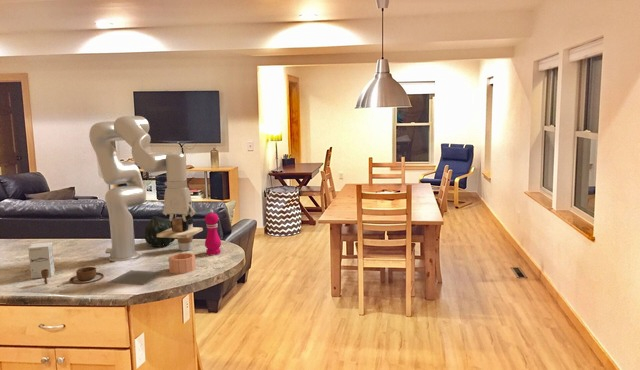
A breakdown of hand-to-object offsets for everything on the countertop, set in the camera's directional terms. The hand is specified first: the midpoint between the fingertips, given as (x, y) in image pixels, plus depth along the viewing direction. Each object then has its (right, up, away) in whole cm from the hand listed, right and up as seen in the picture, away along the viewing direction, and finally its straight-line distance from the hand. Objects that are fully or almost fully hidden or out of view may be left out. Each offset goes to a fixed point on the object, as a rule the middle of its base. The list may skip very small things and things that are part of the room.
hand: (180, 230), depth 201 cm
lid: (0, -2, 0) cm, 1 cm away
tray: (-15, -18, -6) cm, 24 cm away
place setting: (-38, -20, -5) cm, 43 cm away
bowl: (0, -17, +3) cm, 17 cm away
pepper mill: (+8, -13, +27) cm, 31 cm away
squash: (-21, -11, +45) cm, 51 cm away
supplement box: (-55, -18, +1) cm, 58 cm away
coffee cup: (-7, -12, +35) cm, 38 cm away
